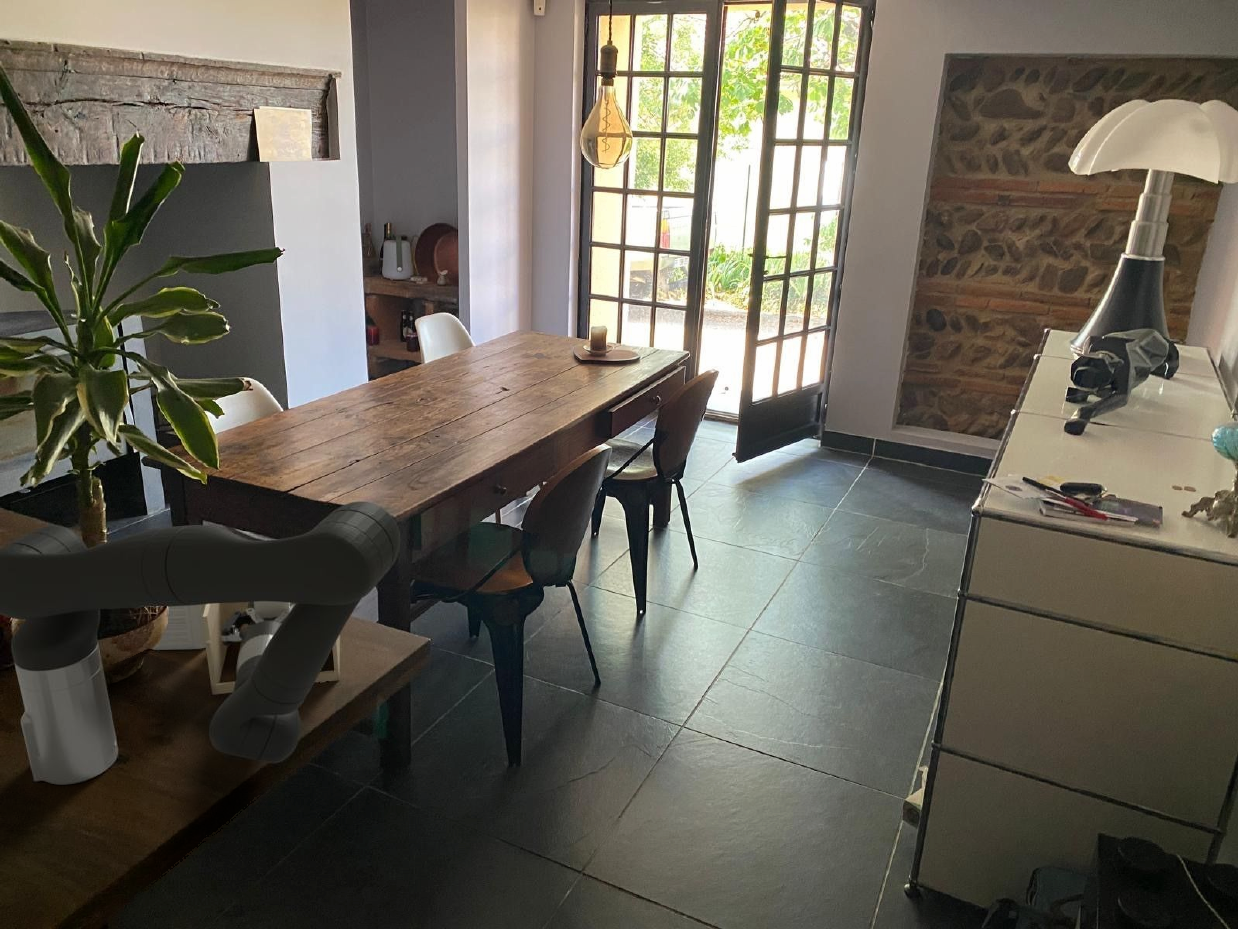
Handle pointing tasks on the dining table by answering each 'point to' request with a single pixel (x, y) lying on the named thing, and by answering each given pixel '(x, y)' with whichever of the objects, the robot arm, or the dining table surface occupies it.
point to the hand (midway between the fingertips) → (275, 601)
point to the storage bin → (216, 651)
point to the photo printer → (184, 629)
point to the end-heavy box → (270, 608)
